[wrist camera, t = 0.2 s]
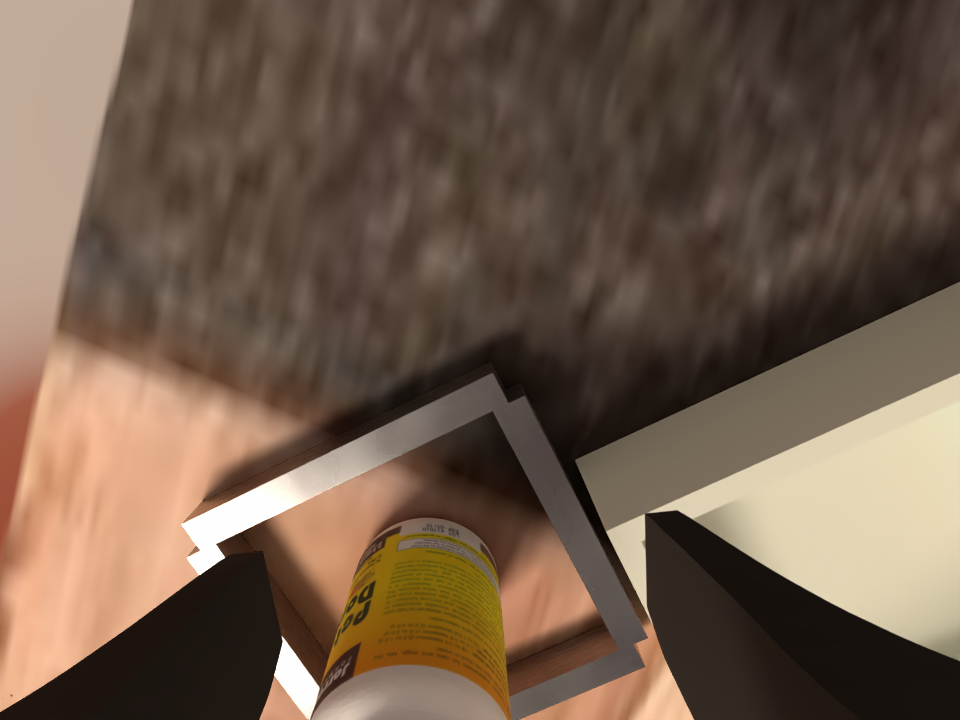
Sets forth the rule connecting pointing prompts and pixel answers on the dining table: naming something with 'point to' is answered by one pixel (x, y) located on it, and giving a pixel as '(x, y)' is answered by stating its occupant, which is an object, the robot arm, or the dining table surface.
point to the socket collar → (387, 438)
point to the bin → (819, 473)
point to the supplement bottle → (419, 631)
